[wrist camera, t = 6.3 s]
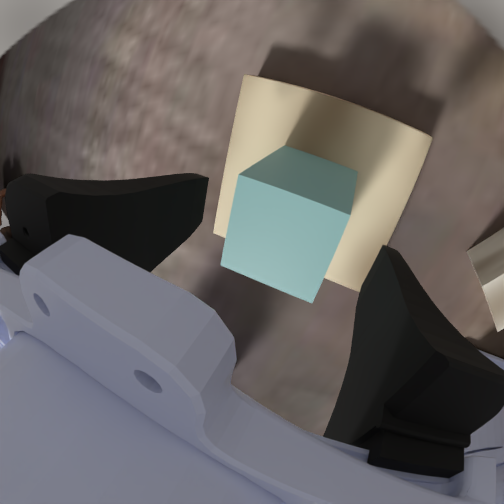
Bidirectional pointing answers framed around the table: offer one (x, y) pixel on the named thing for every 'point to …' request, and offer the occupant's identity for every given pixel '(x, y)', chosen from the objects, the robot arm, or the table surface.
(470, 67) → the table surface
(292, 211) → the teal block
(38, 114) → the table surface
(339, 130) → the cream square slab
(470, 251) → the cream cube
